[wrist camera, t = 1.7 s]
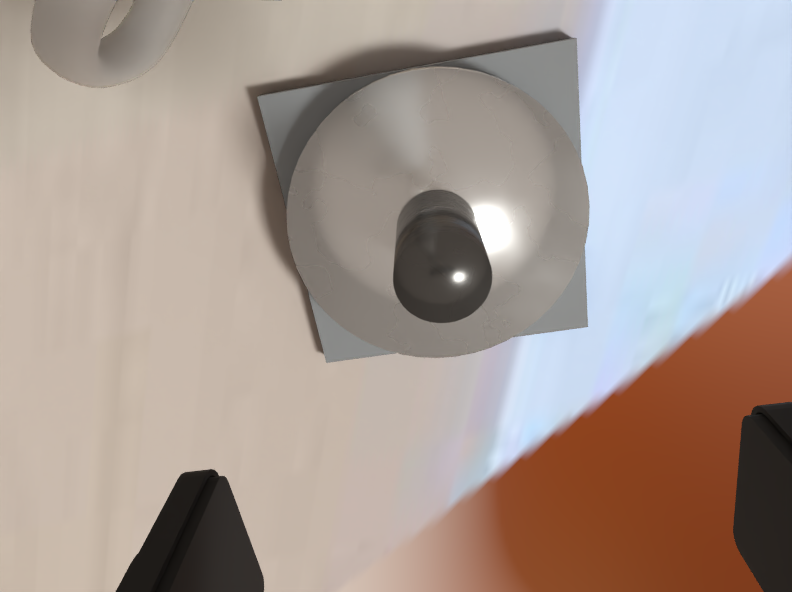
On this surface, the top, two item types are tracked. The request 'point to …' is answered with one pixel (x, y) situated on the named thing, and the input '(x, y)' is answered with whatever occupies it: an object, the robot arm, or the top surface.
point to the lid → (437, 212)
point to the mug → (115, 53)
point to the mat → (522, 67)
